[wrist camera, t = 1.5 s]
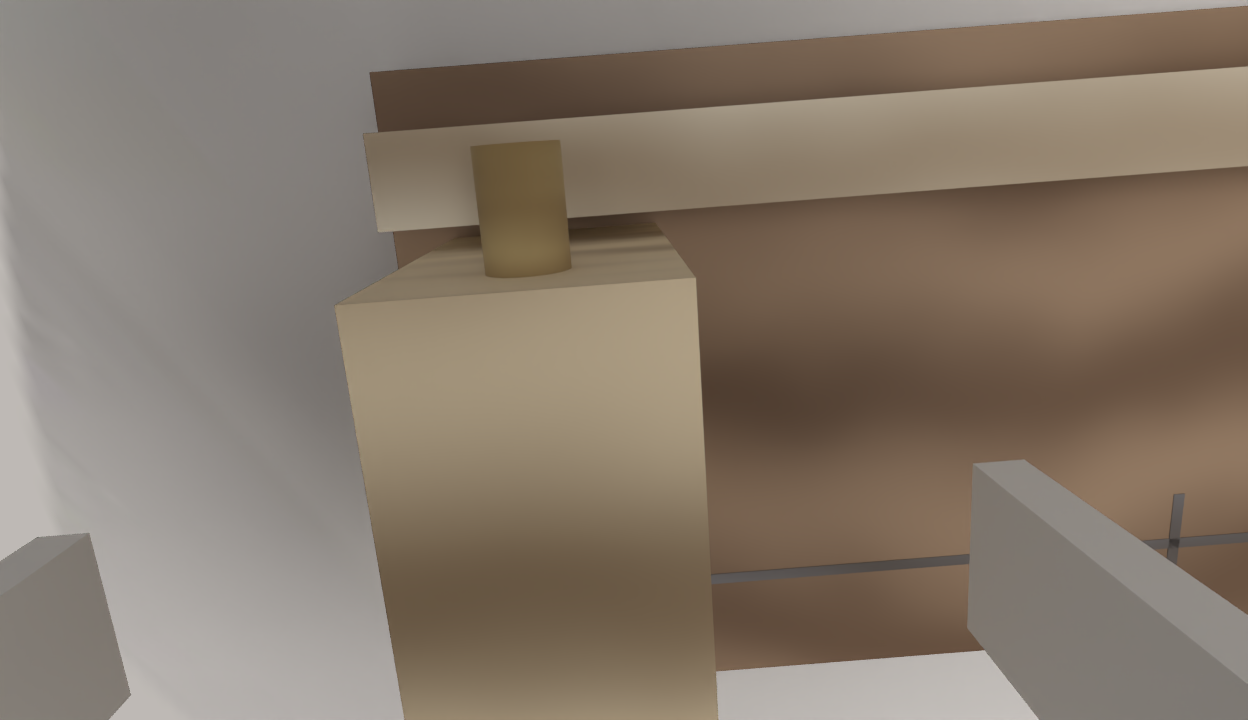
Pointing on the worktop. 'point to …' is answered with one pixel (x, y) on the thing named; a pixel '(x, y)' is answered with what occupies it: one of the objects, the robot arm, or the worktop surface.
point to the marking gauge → (537, 462)
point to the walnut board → (905, 288)
